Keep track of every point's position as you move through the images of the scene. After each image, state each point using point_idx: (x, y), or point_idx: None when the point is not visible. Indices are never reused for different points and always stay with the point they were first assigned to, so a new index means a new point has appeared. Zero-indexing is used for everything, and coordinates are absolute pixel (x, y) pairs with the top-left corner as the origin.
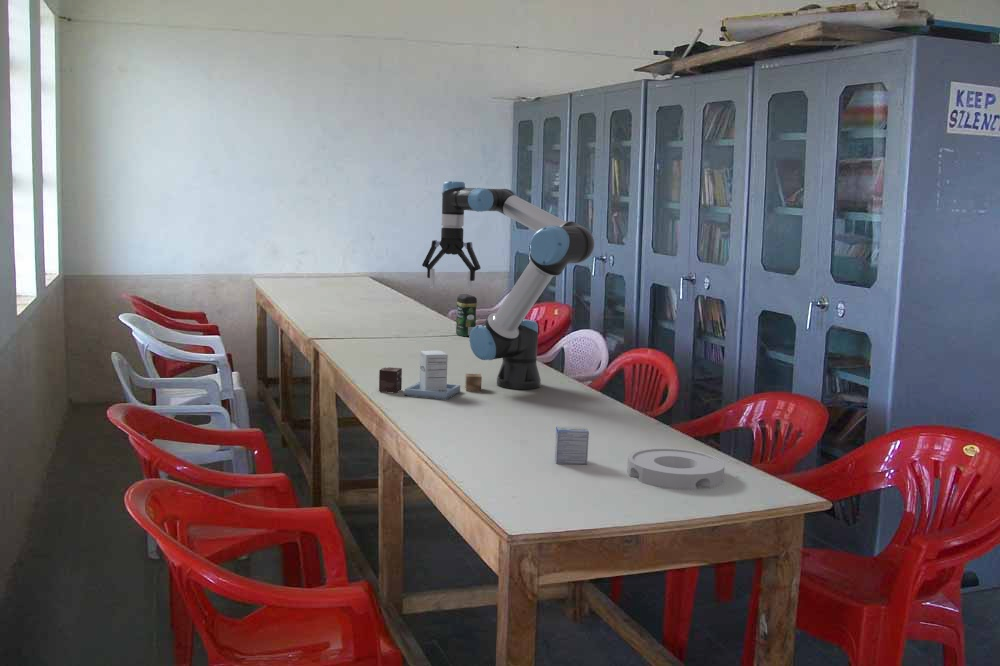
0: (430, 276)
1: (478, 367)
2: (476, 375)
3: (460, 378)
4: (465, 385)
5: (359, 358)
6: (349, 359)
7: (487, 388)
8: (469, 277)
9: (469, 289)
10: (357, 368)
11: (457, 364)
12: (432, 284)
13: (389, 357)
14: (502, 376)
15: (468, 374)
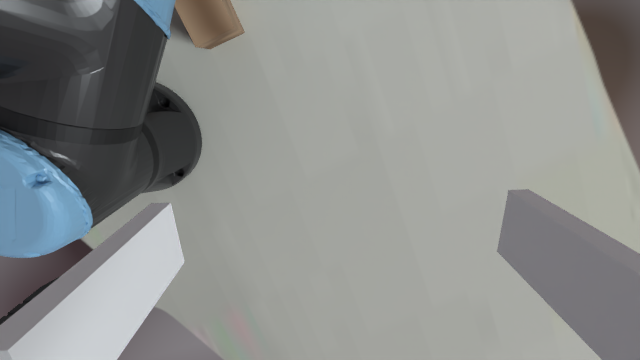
0: (620, 247)
1: (313, 279)
2: (194, 15)
3: (302, 145)
4: (240, 26)
5: None
6: (619, 231)
7: (193, 57)
8: (57, 280)
9: (146, 212)
10: (580, 138)
11: (366, 288)
12: (524, 226)
13: (530, 291)
14: (164, 109)
15: (222, 18)
